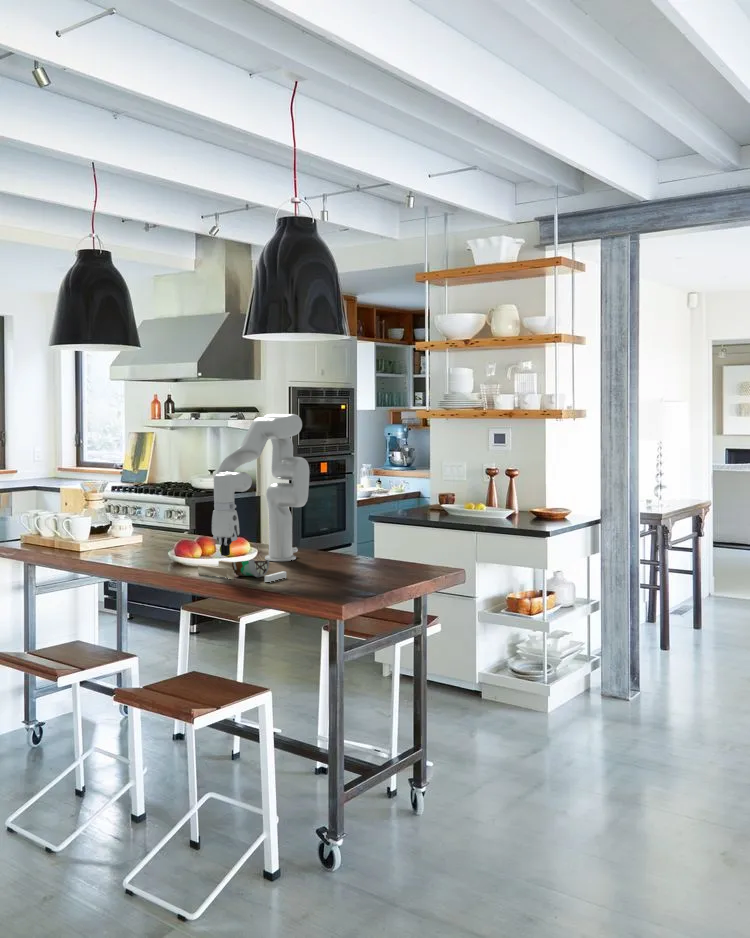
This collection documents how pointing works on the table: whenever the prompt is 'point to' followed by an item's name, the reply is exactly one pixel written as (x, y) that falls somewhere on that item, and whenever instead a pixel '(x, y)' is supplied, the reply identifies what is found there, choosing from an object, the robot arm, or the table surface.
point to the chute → (218, 570)
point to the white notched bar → (275, 576)
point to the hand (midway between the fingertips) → (225, 555)
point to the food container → (250, 568)
